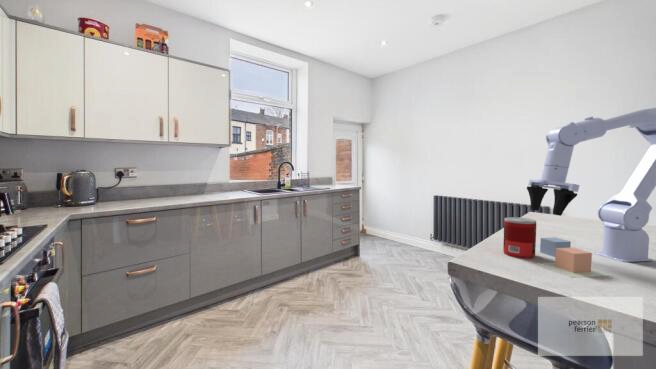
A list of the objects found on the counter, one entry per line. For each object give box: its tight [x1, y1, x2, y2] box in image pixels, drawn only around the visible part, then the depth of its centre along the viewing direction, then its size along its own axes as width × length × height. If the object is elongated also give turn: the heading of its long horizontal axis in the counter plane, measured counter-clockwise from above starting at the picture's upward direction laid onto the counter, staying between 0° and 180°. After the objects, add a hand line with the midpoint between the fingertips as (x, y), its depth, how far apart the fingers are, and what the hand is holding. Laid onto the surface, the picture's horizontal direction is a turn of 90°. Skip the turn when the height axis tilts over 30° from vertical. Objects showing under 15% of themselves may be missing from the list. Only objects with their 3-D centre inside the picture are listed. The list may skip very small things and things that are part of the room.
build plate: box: [536, 262, 612, 278], centre depth 74 cm, size 11×10×1 cm
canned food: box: [502, 216, 537, 259], centre depth 86 cm, size 8×8×11 cm
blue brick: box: [539, 236, 571, 258], centre depth 87 cm, size 5×5×5 cm
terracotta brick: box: [554, 247, 593, 273], centre depth 74 cm, size 5×5×5 cm
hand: (545, 212), depth 85 cm, fingers open, 7 cm apart
